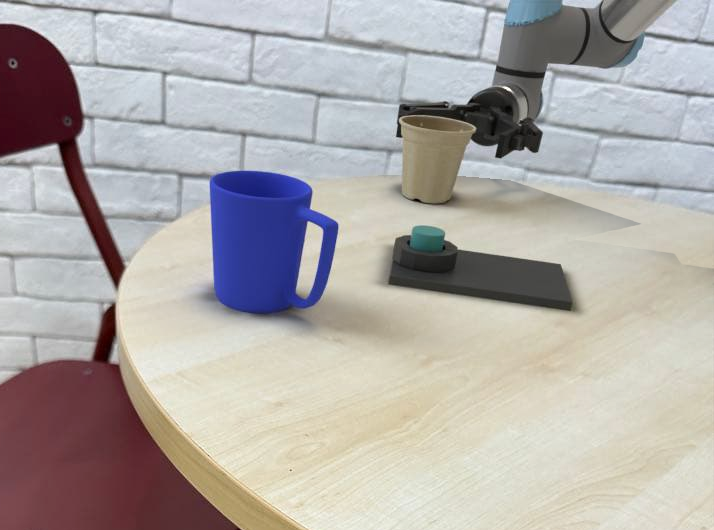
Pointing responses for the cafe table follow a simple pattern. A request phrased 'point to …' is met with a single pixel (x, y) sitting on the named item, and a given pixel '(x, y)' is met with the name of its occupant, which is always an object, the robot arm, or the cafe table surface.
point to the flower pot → (432, 155)
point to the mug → (264, 240)
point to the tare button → (427, 238)
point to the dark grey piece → (479, 275)
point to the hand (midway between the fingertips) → (449, 136)
